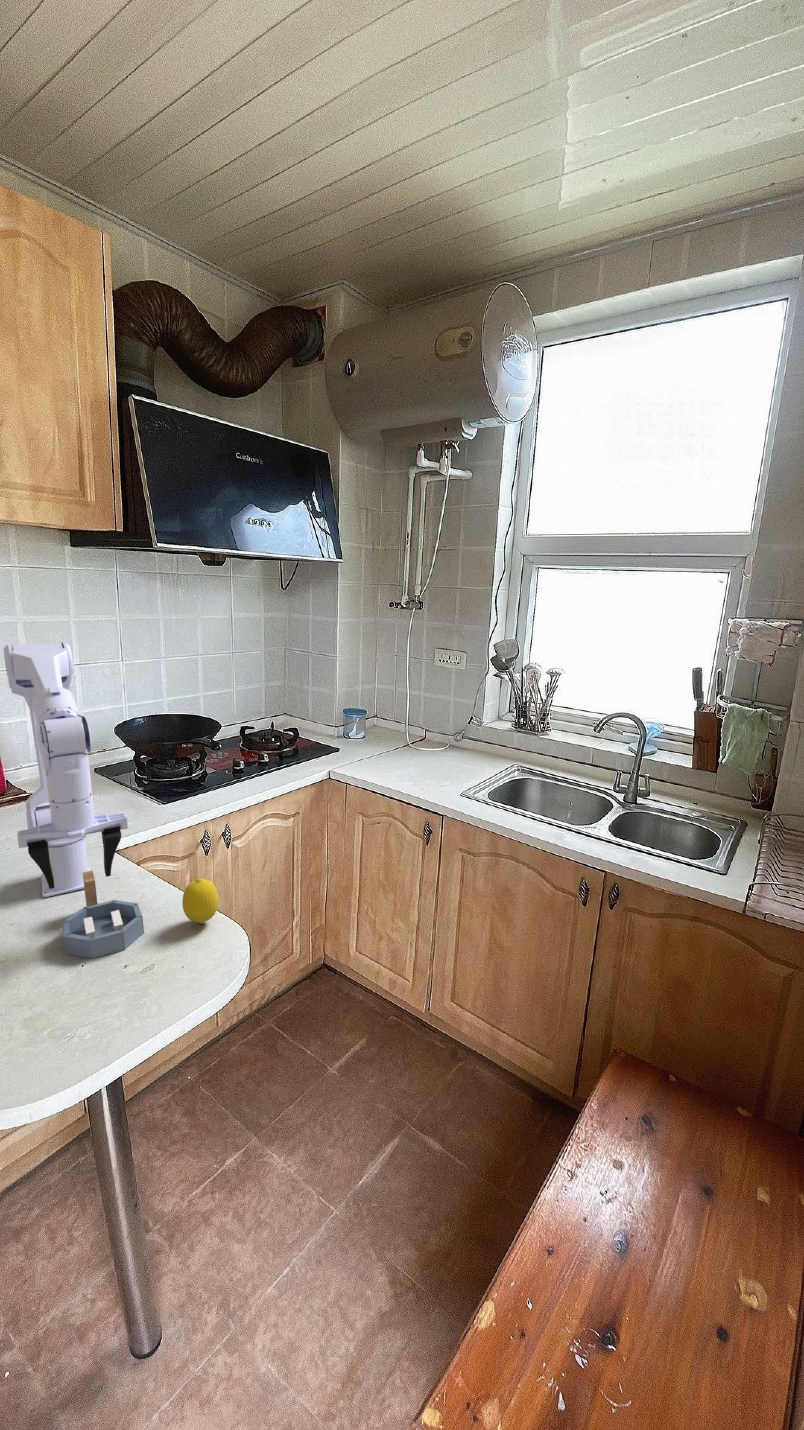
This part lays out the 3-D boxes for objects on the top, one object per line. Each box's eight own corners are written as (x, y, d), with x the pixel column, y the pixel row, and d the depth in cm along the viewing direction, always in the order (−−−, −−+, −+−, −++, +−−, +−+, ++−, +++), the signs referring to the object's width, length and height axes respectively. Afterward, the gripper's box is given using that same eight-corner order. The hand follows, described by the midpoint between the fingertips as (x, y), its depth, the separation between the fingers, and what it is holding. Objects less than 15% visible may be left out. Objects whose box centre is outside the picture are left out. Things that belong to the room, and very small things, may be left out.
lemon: (223, 914, 101) (220, 870, 100) (214, 932, 96) (211, 886, 94) (190, 914, 101) (186, 870, 99) (179, 933, 96) (175, 887, 94)
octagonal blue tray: (63, 929, 96) (61, 912, 96) (136, 910, 102) (135, 894, 101) (67, 965, 87) (65, 947, 87) (147, 943, 93) (146, 925, 92)
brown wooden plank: (86, 910, 102) (82, 872, 101) (96, 907, 103) (92, 870, 101) (88, 921, 99) (84, 882, 97) (99, 918, 100) (94, 880, 98)
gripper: (12, 814, 83) (25, 903, 86) (127, 796, 90) (134, 879, 93) (13, 798, 89) (25, 882, 92) (121, 782, 96) (128, 860, 99)
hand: (80, 879), depth 93 cm, fingers open, 7 cm apart
